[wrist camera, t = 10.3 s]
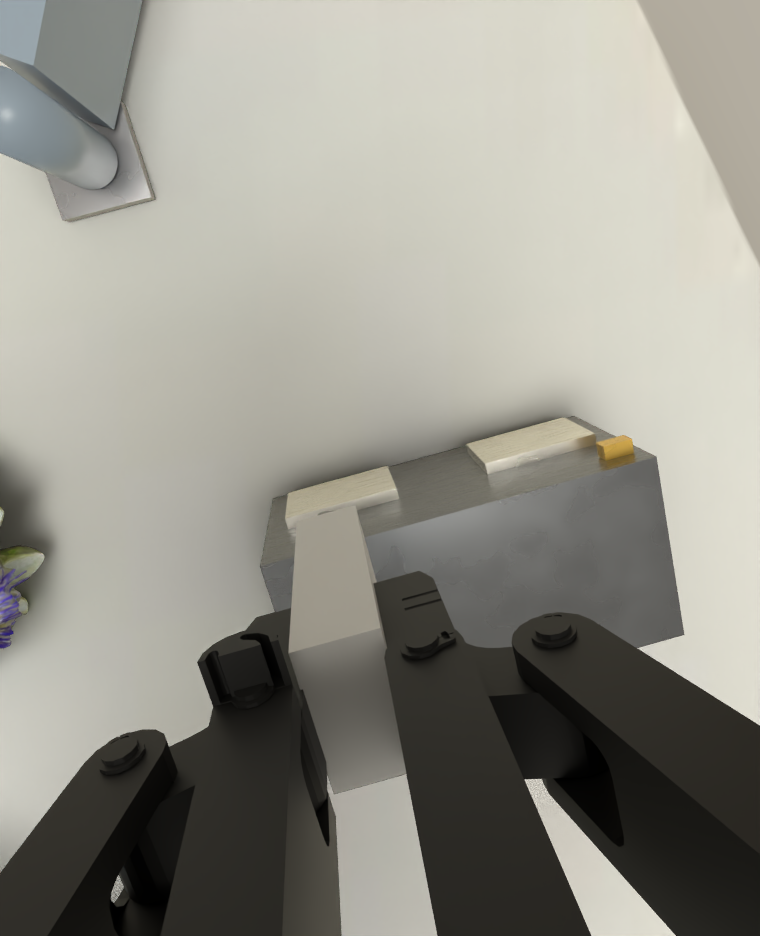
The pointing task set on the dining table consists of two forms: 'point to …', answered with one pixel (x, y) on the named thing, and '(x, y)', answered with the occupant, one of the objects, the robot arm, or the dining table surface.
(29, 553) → the passion flower
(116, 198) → the arm mount
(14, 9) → the blue-grey flat panel
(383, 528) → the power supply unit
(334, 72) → the dining table surface
